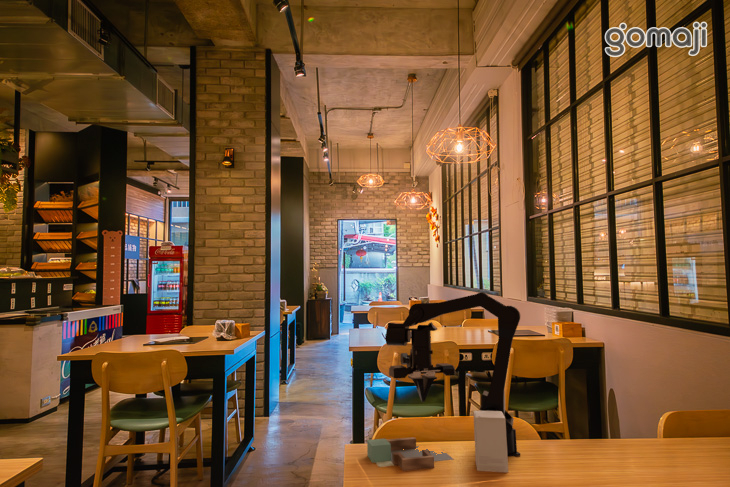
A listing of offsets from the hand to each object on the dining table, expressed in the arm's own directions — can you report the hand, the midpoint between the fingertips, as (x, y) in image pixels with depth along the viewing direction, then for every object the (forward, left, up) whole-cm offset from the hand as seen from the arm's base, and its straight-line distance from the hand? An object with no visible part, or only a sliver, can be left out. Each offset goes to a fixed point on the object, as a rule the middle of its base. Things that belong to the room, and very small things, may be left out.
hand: (422, 401), depth 124 cm
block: (+15, +8, -12) cm, 21 cm away
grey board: (+7, +8, -12) cm, 16 cm away
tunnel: (+8, +10, -12) cm, 17 cm away
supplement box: (-10, +20, -12) cm, 26 cm away
